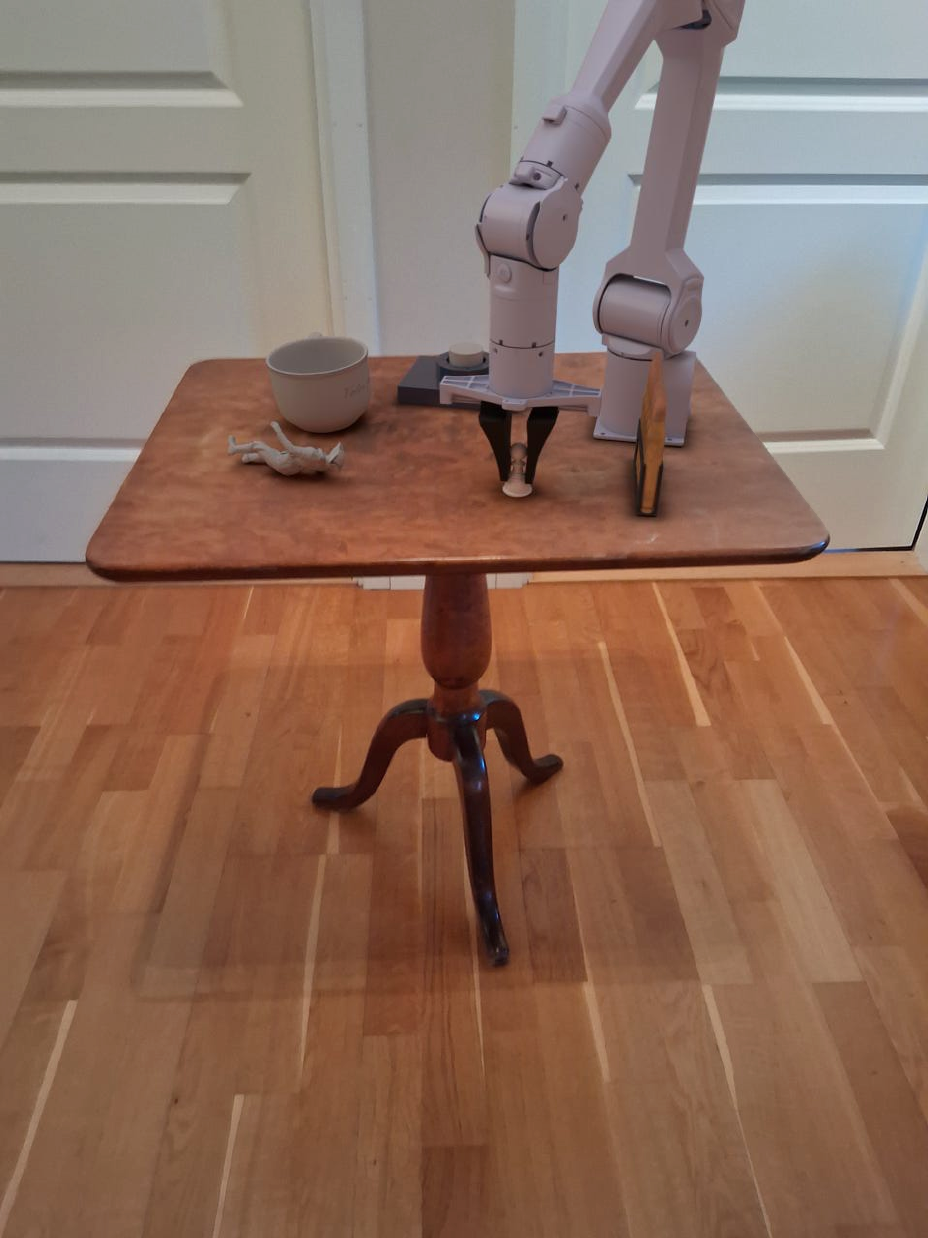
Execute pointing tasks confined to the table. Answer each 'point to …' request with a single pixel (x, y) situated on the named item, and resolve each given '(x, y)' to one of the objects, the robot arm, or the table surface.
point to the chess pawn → (517, 472)
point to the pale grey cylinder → (466, 354)
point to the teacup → (320, 381)
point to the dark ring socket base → (436, 381)
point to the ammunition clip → (650, 442)
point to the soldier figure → (289, 455)
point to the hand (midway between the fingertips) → (517, 478)
